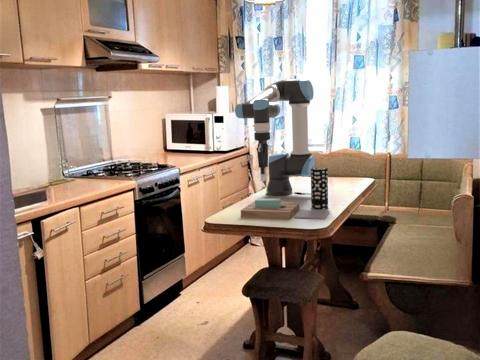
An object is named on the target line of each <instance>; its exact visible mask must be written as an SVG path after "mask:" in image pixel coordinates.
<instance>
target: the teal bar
mask: <svg viewBox="0 0 480 360" xmlns="http://www.w3.org/2000/svg"><path fill="white" fill-rule="evenodd" d="M254 201H255V207H258V208H281V202H282V199H281V198H256V199H254Z"/></svg>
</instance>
